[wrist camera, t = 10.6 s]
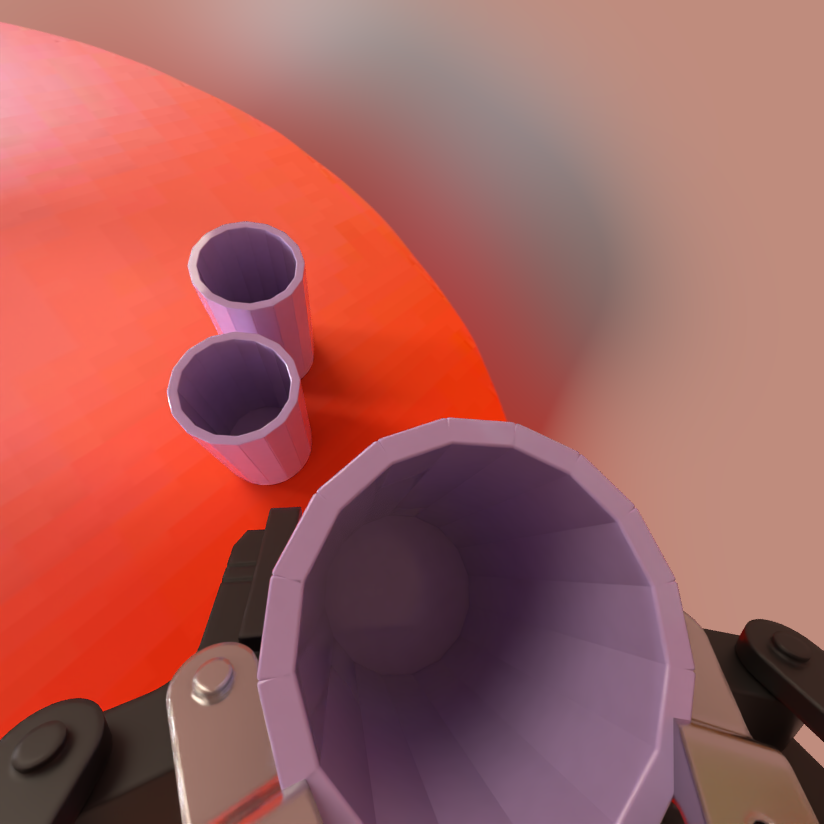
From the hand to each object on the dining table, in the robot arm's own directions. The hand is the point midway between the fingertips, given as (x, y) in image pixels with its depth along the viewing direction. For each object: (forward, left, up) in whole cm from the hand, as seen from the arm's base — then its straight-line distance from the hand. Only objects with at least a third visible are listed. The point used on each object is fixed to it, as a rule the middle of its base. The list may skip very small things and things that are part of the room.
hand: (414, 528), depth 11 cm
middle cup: (-10, 0, -17) cm, 20 cm away
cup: (-16, +4, -17) cm, 24 cm away
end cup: (+1, -1, -5) cm, 5 cm away
